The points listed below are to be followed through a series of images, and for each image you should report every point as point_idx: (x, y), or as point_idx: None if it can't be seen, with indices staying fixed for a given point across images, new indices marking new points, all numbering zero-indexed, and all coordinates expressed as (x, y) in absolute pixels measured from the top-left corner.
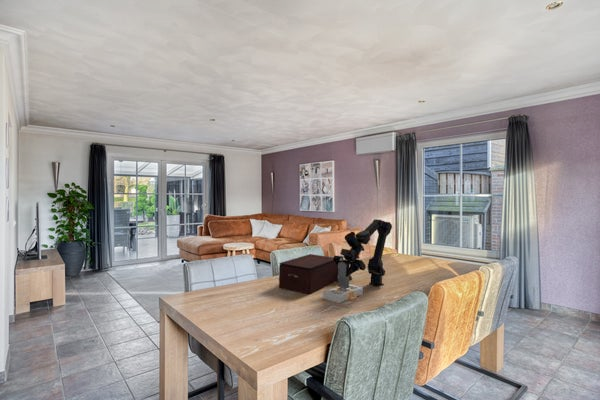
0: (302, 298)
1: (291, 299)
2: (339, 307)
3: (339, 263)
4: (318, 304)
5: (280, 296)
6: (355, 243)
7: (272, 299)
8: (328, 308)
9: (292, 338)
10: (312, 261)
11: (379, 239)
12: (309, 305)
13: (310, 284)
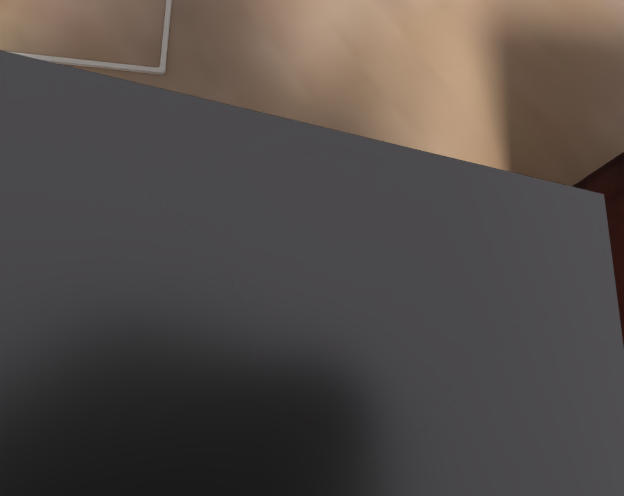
0: (484, 111)
1: (522, 55)
2: (86, 60)
3: (497, 194)
4: (293, 54)
5: (621, 71)
6: None
7: (600, 2)
8: (167, 5)
9: None
10: None
11: None
12: (336, 8)
13: (592, 188)
